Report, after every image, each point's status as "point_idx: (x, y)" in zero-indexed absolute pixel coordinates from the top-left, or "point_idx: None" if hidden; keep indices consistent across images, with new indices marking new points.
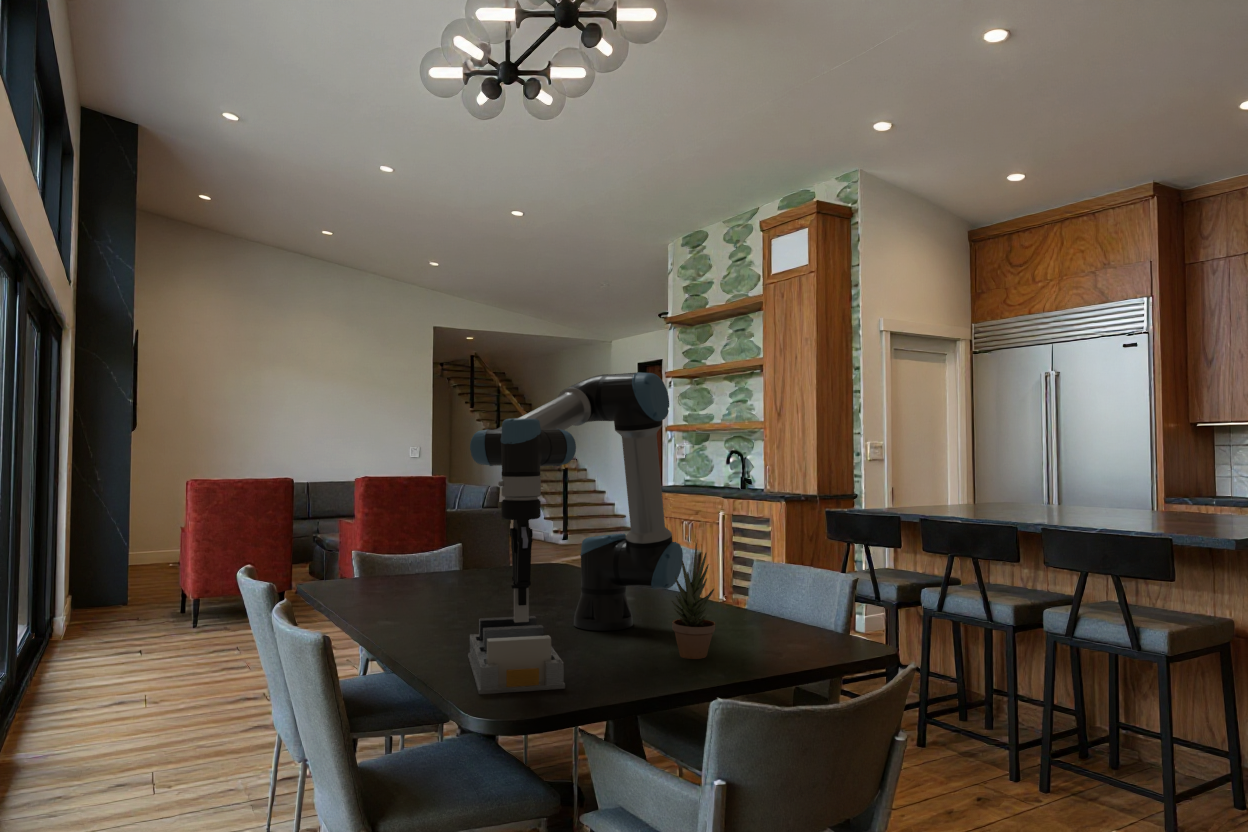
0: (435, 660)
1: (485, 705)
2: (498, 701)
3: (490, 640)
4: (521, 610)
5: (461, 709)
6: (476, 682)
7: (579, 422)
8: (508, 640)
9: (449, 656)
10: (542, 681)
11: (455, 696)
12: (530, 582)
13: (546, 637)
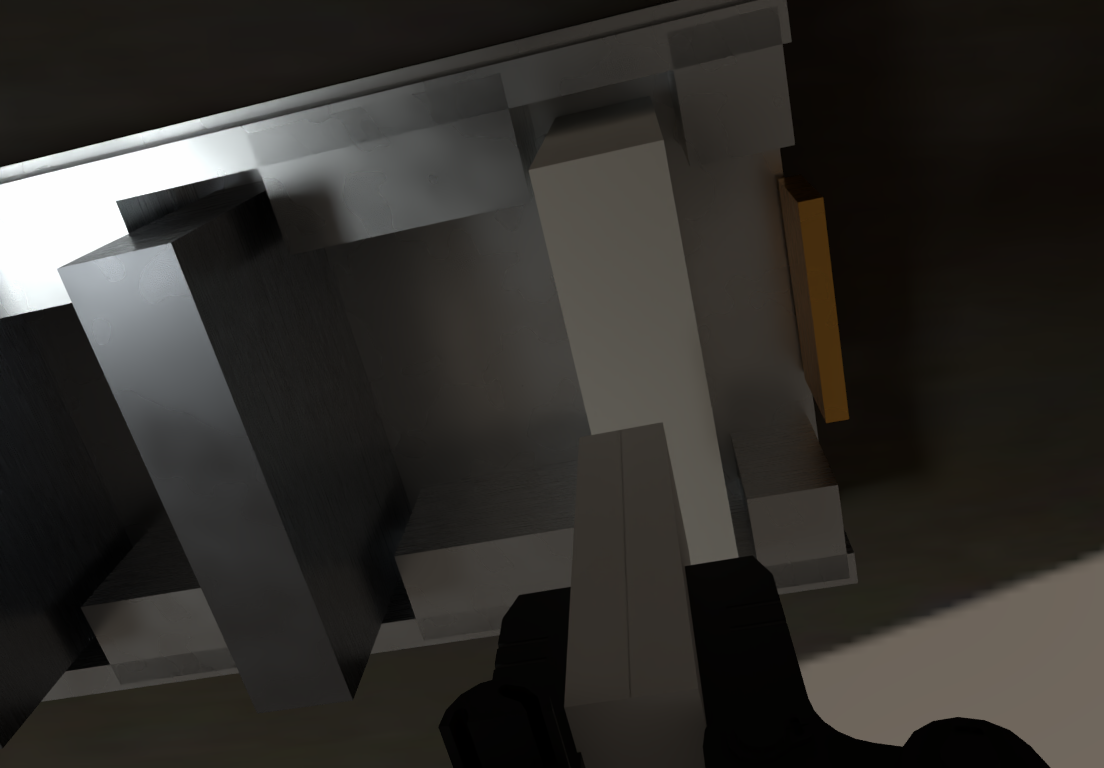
0: (142, 761)
1: (1043, 450)
2: (979, 391)
3: None
4: (686, 563)
5: (1088, 556)
6: None
7: None
8: (728, 512)
9: (46, 712)
10: (673, 155)
11: (840, 606)
12: (1000, 761)
13: (627, 190)
